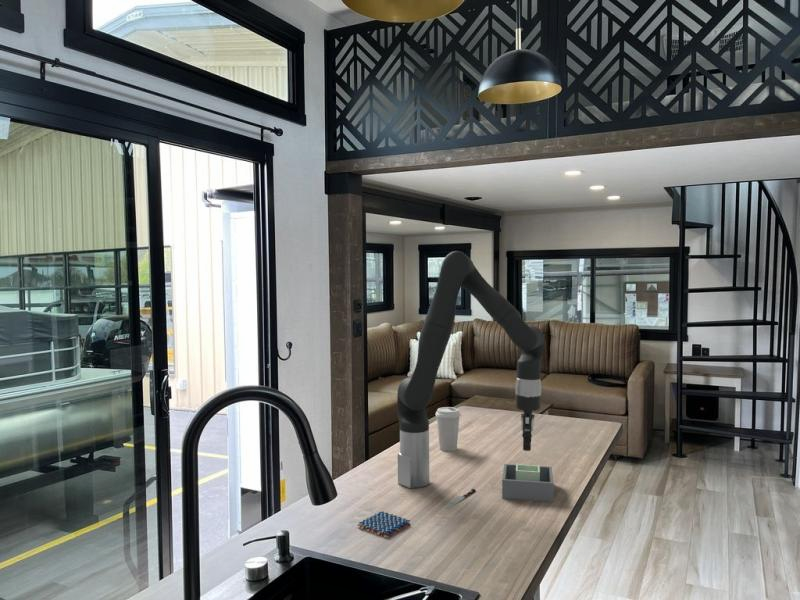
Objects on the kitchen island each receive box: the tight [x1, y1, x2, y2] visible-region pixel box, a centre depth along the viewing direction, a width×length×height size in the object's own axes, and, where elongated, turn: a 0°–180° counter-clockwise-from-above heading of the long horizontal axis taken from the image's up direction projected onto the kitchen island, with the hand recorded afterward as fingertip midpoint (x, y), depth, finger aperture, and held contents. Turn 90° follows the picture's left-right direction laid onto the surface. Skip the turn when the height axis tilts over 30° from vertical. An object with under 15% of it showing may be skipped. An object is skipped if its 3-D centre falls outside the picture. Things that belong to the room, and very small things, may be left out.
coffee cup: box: [435, 406, 462, 452], centre depth 218 cm, size 10×10×15 cm
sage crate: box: [515, 463, 541, 482], centre depth 176 cm, size 6×7×6 cm
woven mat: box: [357, 511, 411, 539], centre depth 152 cm, size 10×11×2 cm
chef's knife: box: [444, 488, 476, 511], centre depth 170 cm, size 19×1×3 cm
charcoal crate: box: [501, 463, 554, 503], centre depth 176 cm, size 15×15×6 cm
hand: (527, 446), depth 175 cm, fingers open, 8 cm apart
